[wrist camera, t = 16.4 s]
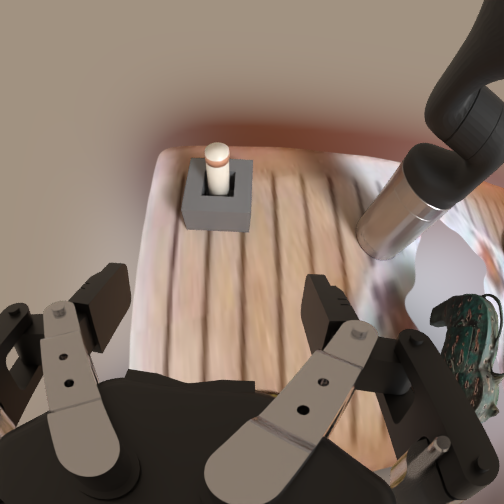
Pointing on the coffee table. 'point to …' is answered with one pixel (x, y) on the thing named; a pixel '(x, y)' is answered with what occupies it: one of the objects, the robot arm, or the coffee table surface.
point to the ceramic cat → (472, 348)
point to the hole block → (218, 198)
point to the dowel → (217, 169)
